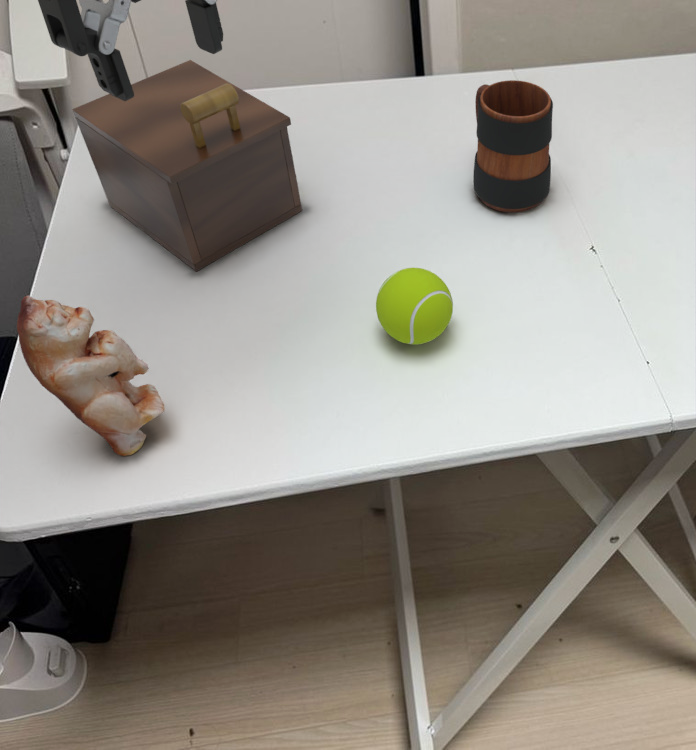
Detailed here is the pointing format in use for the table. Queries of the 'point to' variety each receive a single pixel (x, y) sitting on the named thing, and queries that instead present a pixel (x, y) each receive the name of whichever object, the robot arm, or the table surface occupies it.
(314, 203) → the table surface
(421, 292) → the tennis ball
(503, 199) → the mug
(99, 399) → the figurine
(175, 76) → the lid
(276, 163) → the chest
